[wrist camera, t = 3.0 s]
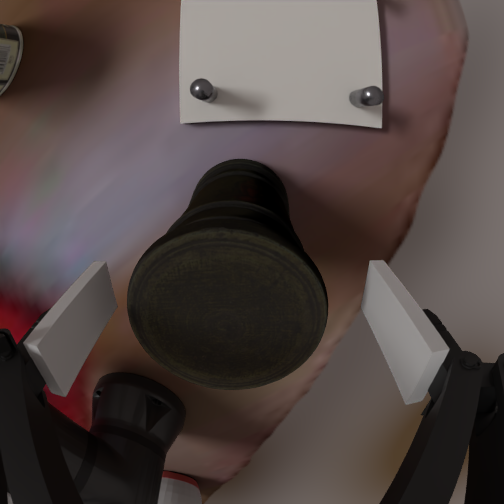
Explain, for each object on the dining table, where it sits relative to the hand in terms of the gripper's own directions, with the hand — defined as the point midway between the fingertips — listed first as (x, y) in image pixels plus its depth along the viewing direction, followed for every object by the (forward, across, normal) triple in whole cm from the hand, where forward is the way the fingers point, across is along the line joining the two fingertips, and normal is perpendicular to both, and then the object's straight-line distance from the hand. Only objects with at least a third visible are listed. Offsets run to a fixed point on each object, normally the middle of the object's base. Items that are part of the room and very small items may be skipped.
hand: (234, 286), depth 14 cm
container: (+15, 0, 0) cm, 15 cm away
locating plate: (+15, -4, -17) cm, 23 cm away
